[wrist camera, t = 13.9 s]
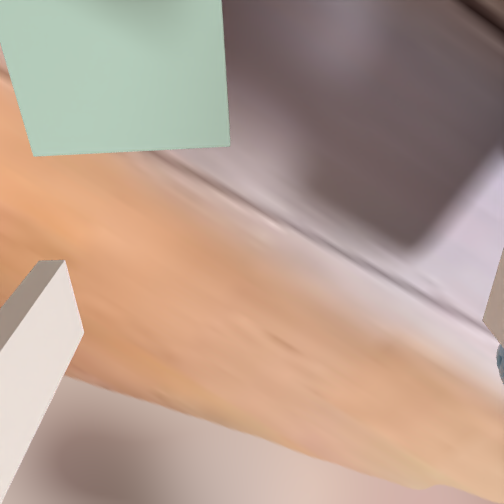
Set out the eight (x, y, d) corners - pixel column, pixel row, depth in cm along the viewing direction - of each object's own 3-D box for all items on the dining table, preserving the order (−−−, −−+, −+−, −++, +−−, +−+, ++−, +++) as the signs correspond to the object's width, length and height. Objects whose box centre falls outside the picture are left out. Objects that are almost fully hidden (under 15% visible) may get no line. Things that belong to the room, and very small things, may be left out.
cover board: (211, -170, 20) (208, -195, 18) (229, 132, 27) (230, 146, 25) (-29, -162, 20) (-68, -186, 17) (52, 141, 27) (33, 156, 24)
